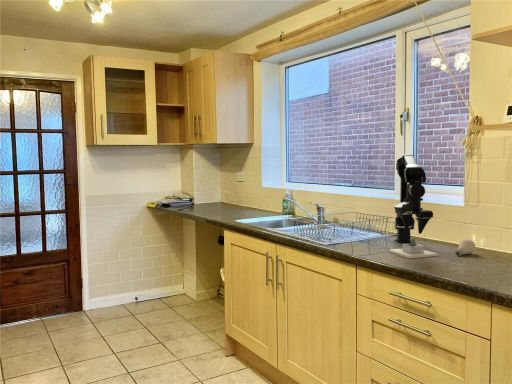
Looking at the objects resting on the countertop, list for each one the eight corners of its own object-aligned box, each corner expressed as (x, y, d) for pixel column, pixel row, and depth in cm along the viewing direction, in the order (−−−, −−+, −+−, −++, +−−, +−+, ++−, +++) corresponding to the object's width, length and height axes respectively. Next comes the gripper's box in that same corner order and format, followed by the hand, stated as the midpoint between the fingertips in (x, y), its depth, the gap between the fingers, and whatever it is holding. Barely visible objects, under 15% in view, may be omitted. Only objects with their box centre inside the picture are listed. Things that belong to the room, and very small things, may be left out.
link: (402, 250, 202) (402, 243, 201) (414, 249, 204) (414, 242, 203) (411, 253, 196) (411, 246, 195) (423, 252, 198) (424, 245, 197)
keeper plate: (389, 251, 204) (389, 237, 204) (416, 249, 208) (416, 235, 208) (408, 258, 191) (409, 243, 190) (437, 255, 195) (437, 240, 195)
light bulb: (462, 246, 191) (475, 236, 197) (448, 246, 197) (461, 236, 203) (467, 261, 192) (480, 250, 198) (453, 261, 197) (466, 250, 203)
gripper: (384, 194, 204) (384, 229, 205) (411, 198, 186) (410, 236, 187) (406, 193, 207) (406, 228, 208) (434, 197, 189) (433, 235, 191)
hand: (413, 231), depth 199 cm, fingers open, 9 cm apart
